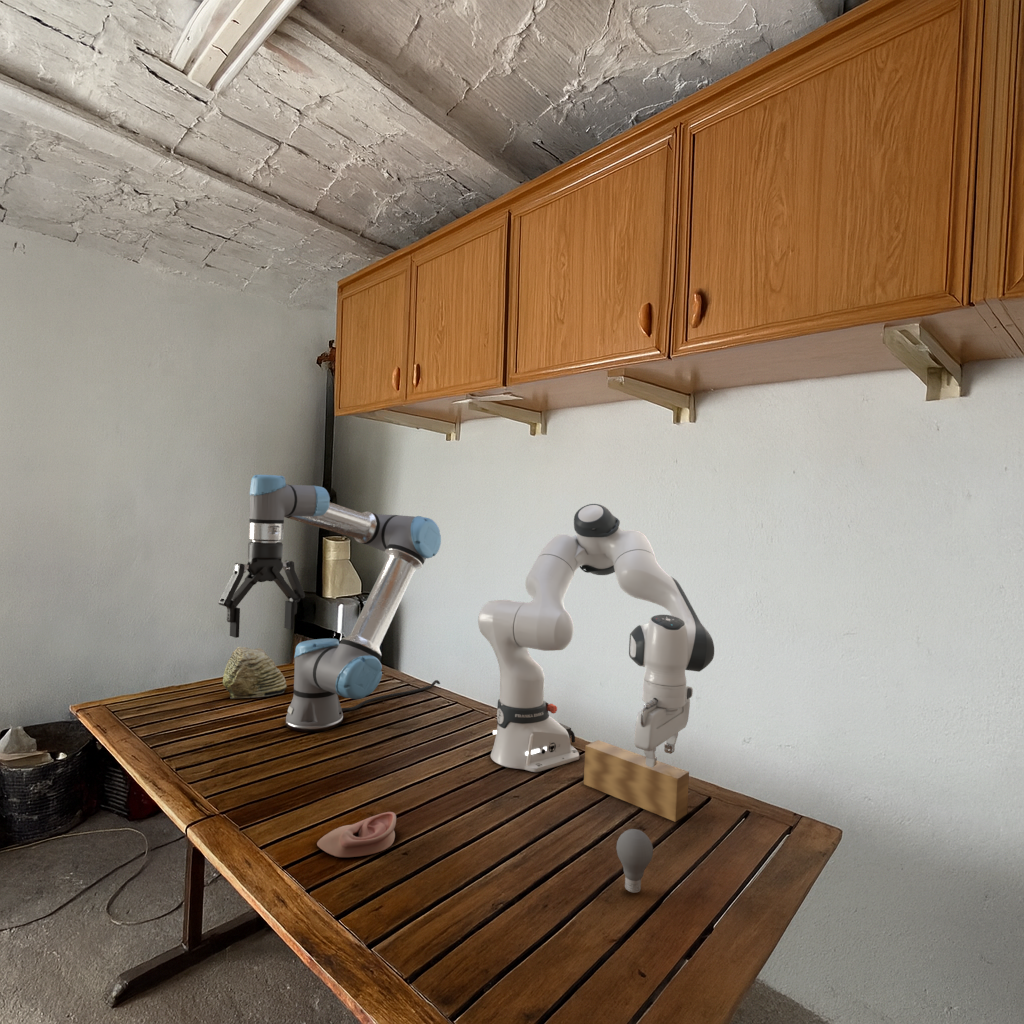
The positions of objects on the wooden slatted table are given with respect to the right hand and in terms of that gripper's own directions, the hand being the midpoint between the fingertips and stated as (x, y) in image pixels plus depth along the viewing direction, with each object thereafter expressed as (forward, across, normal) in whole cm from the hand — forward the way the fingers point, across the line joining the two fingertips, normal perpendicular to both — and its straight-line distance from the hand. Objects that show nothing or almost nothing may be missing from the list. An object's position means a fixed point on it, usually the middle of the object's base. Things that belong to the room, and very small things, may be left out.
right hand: (660, 758), depth 134 cm
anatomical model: (+12, -49, +38) cm, 63 cm away
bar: (+11, +2, +6) cm, 13 cm away
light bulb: (+11, -29, -8) cm, 32 cm away
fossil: (+12, -15, +128) cm, 129 cm away
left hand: (-19, -43, +81) cm, 94 cm away
